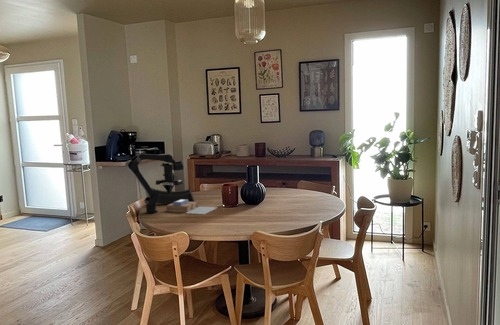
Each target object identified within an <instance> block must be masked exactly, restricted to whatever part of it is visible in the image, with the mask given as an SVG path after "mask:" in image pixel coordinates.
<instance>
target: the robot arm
mask: <svg viewBox="0 0 500 325" xmlns="http://www.w3.org/2000/svg"><path fill="white" fill-rule="evenodd" d="M143 160H148V161H159V162H162V163H161V164H160V167H163V174H162V176H163V177H164V179H162V178H161V179H157V180H155V185H156V186H157V185H160V184H162V187H163V188H164V189H165V191H167V192H168V194H169V195H171V192H172V191H173V189H174V187H175V186H180V185H183V183H184V182H183V180H182V179H178V178H179V176H178V175H175V174H174V172H180V171H184V165H183V162H182V160H178V161H175V159H174V158H173V156H172V154H170V153H169V154H168V153H161V154H151V153H140V152H138V153H137V154H136V155H134V156H133V157H132V158H131V159H130V160H126V161H125V163H124V166H125V168H126V169H127V170H128V171H129V172H130V173H131V174H133V176H134V177H135V179H136V180H137V182H138V183H139V185H140V186H141V187H142V189H143V190H144V192H145V196H146V197H145V198H144V200H143V201H144V204H145V208H146V211H145V212H144V214H155V213H157V212H159V210H157V204H158V203H157V200H158V198H159V195H158V194H159V193H157V191H156V190H157V189H156V188H154V187H151V186H150V184H149V183H148V182H147V179H145V178H144V175H143V174H142V173H141V172H140V168H139V166H138V165H140V164H141V162H142V161H143ZM173 171H174V172H173Z"/></svg>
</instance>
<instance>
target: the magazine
mask: <svg viewBox="0 0 500 325" xmlns="http://www.w3.org/2000/svg"><path fill="white" fill-rule="evenodd" d="M156 191H157V193H159V194H158V195H159V198H158V200H157V203H156V206H157V205H169V204H172V203H173V202H175V201H177V200H180V199H188V201H189V202H196V199H195V198H194V197H195V196H194V195H193V192H192V190H191V188H188V189H184V190H178V191H177V190H176V191H173V190H172V192H171V195H169V194H168V192H167V190H160V189H158V188H157V189H156Z"/></svg>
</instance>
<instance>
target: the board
mask: <svg viewBox="0 0 500 325" xmlns="http://www.w3.org/2000/svg"><path fill="white" fill-rule="evenodd" d="M197 207H199V202H198V201H194V202H189V201H188V203H186V204H183V205H174V203H172V204H166V212H171V213H185V214H188V213H187V212H189V211H191V210H193V209H195V208H197Z"/></svg>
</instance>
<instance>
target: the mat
mask: <svg viewBox="0 0 500 325" xmlns="http://www.w3.org/2000/svg"><path fill="white" fill-rule="evenodd" d="M216 209H218V207H216V206H214V207H213V206H198V207H197V208H195V209H193V210H191V211H189V212H187V213H186V214H188V215H189V214H193V215H206V214H208V213H211V212H212V211H214V210H216Z"/></svg>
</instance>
